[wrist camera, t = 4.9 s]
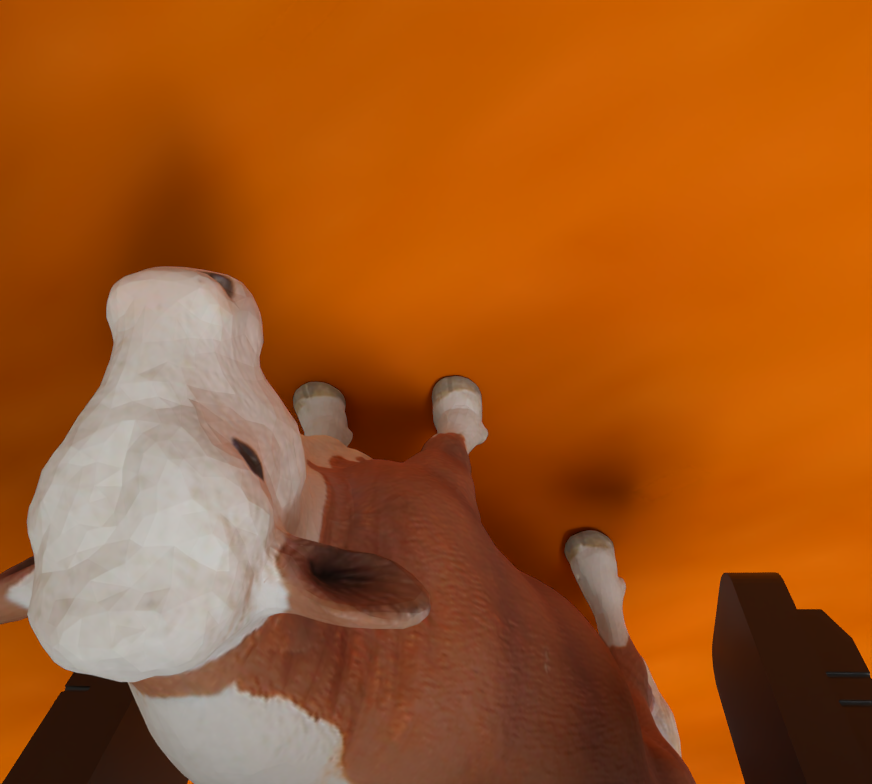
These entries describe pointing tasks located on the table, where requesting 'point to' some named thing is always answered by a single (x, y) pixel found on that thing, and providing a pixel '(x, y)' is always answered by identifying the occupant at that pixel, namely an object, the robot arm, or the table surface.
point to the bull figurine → (314, 579)
